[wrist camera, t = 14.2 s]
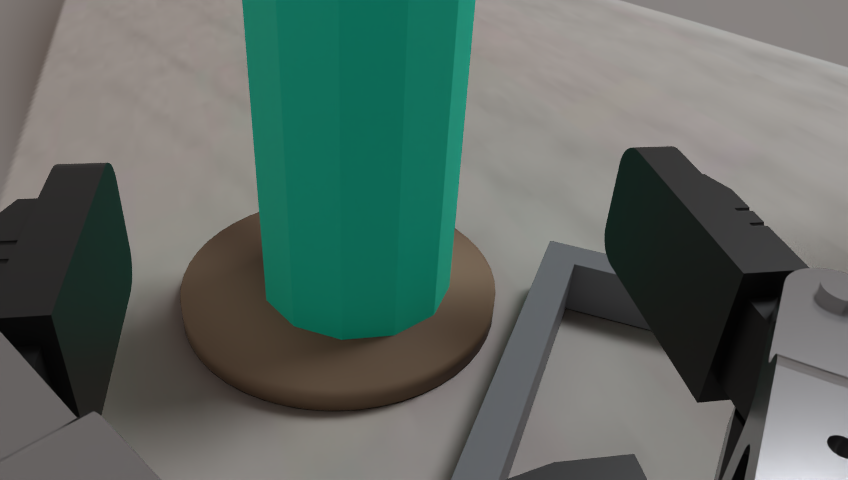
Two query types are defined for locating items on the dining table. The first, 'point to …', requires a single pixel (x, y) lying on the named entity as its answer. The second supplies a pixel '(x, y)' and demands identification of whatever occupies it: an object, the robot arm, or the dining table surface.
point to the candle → (357, 156)
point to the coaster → (320, 354)
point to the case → (539, 351)
